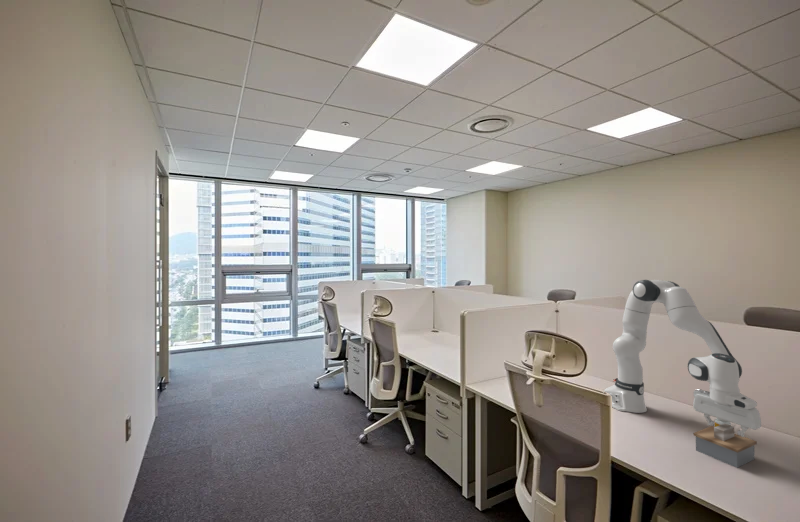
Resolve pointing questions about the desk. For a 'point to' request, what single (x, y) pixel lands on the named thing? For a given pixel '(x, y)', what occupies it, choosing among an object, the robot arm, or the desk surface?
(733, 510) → the desk surface
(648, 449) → the desk surface
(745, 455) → the storage box
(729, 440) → the lid
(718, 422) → the supplement bottle
